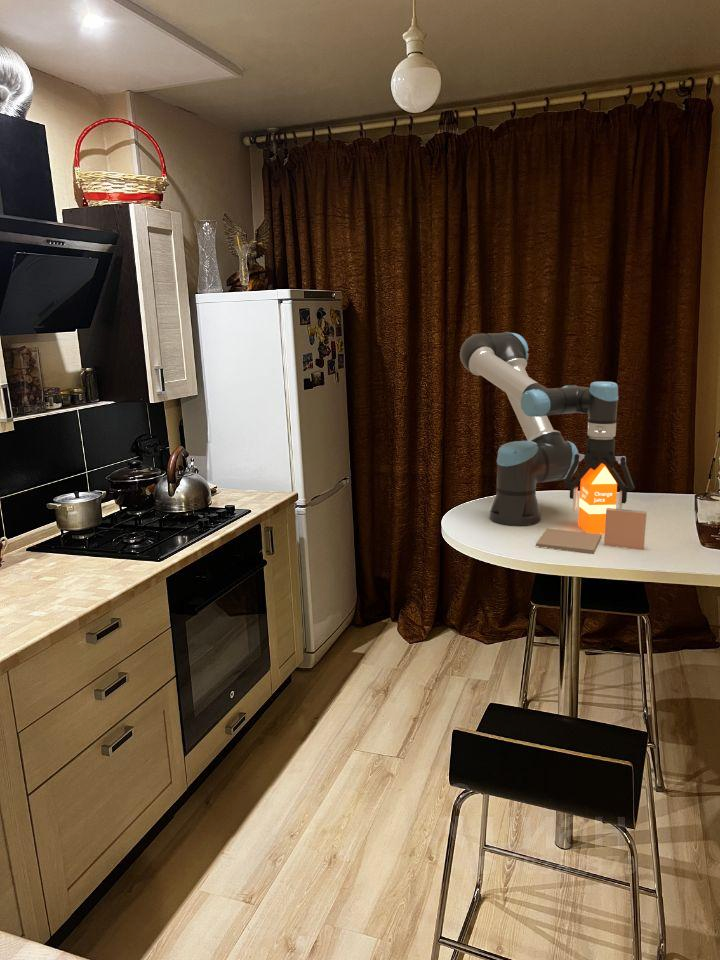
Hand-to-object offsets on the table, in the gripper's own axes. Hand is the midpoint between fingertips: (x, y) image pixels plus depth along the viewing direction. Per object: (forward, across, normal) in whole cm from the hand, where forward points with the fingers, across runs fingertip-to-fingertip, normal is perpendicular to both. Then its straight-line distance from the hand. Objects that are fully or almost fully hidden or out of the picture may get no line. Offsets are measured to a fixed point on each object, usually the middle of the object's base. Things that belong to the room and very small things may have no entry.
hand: (596, 511), depth 210 cm
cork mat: (+5, -5, -15) cm, 17 cm away
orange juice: (+6, 0, 0) cm, 6 cm away
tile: (0, +9, -13) cm, 16 cm away
